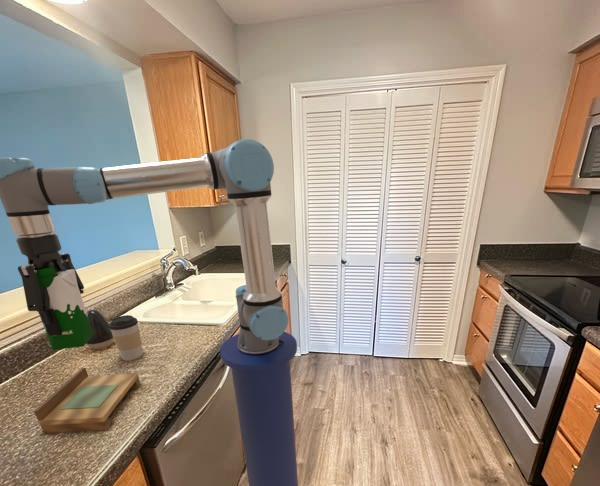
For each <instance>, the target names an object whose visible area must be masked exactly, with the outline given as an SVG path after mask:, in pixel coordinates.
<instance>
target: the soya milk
mask: <svg viewBox="0 0 600 486" xmlns="http://www.w3.org/2000/svg"><path fill="white" fill-rule="evenodd" d="M75 270H76V268H75V269H72V270H67V271H64V272H61V271H60V272H57V273H56V272H55V270H54V267H53V266H52V267H50V268H45V269H40V270H38V269H36V271H37V273H36V274H37V278H38V283H39V288H42V287H43V286H45V285H46V288H47V290H48V294H49V297H50V309H53V310H54V312H55V315H56V318H57V320H58V323H59V326H60V328H61V331H62V335H55V336H49V334H48V332H47V329H46V327H45V324H43V323H42V326H43V328H44V330H45V334H46V336H47V338H48V341H49V344H50V346H51V349H52V351H58V350H66V349H75V348H81V347H82V348H83V347H85V346H86V345H87V344H86V343H87V342H88V341H89V340H90V339H91V337H92V336H93V335H94V333H93V330H92V327H91V324H90V321H89V318H88V315H87V309H86V306H85V303H84V299H83V297H82V294H80V291H79V288H78V284H77V279H76V275H75ZM42 305H43V304H42ZM38 315H39V314H38ZM39 317H40V315H39ZM40 320H41V319H40ZM41 322H42V320H41Z"/></svg>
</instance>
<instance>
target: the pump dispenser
mask: <svg viewBox="0 0 600 486" xmlns="http://www.w3.org/2000/svg"><path fill="white" fill-rule="evenodd" d="M86 312H87V315H88V318H89V321H90V324H91V327H92V330H93V333H94V335H93V336H92V337H91V339H90V340H89V341H88V342H87V343H86V344H85V345H87V346H88V347H89V348H90V349H93V350H104V349H106V348H108V347H110V346H111V345H112V344H113V343H114V342H115V340H114V338H113V335H112V332H111V329H110V328H109V324H110V323H111V322H110V321H108V319H107V318H106V316H105V315H104V314H102V312H100V311H99V310H97V309H89V310H86Z"/></svg>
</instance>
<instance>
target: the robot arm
mask: <svg viewBox="0 0 600 486" xmlns="http://www.w3.org/2000/svg"><path fill="white" fill-rule="evenodd" d="M274 172H275V163H274V160H273V157H272V154H271V153H270V151H269V150H268V148H267V147H266V146H265V145H264V144H262V143H261V142H260V141H257V140H255V139H251V138H242V139H237V140H235V141H234V142H232V143H231V144H230V145H228V146H227V147H224V148H221V149H219V150H216V151H210V152H203V154H202V156H201V157H192V158H184V159H173V160H165V161H164V160H163V161H155V162H146V163H145V162H144V163H137V164H135V163H134V164H125V165H117V166H116V165H115V166H108V167H98V168H97V167H93V166H92V167H91V166H70V167H50V168H44V167H37V166H36V165H35V164H34V161H33V160H32V159H31V158H27V157H0V201H1V204H2V207H3V209H4V211H5V214H6V217H7V219H8V222H9V224H10V227H11V229H12V232H13V234H14V235H15V236H16V237H17V238H16V239H15V241H16V244H17V246H18V248H19V251H20V253H21V255H23V256H25V257H27V264H25V265H19V266H18V267H17V271H18V272H19V275H20V277H21V281H22V286H23V291H24V292H23V293H24V296H25V300H26V301H25V303H26V309H27V311H28V312H37V313H38V315H40V316H39V319H40V320H42V321H41V323H42V325H43V324H45V327H46V329H47V332H48V334H49V336H55V335H62V331H61V328H60V326H59V323H58V320H57V318H56V315H55V312H54V310H53V309H50V297H49V294H48V290H47V288H46V285H45V286H43V287H42V288H39V283H38V278H37V274H36V273H37V271H36V269H38V270H40V269H45V268H50V267H52V266H53V267H54V270H55V272H56V273H57V272H60V271H61V272H64V271H67V270H72V269H75V275H76V279H77V284H78V288H79V291H80V294H81V295H83V294H84V291H85V290H84V289H85V286H84V284H83V281H82V280H81V278H80V276H79V274H78V272H77V270H76V268H75V266H74V264H73V262H72V259H71V255H70V254H69V253H60V252H61V250H62V245H61V242H60V239H59V235H58V234H56V233H55V232H56V231H57V229H56V226H55V223H54V220H53V217H52V215H51V213H50V209H49V206H50V207H51V206H52V207H53V206H64V205H86V204H88V205H92V204H93V205H94V204H99V203H104V202H105V201H107V200H113V199H114V200H115V199H122V198H129V197H137V196H144V195H152V194H161V193H168V192H176V191H177V192H178V191H184V190H185V191H186V190H192V189H200V188H209V189H210V190H212V191H214V190H225V191H226V195H227V201H229V203H231V204H232V205H233V206H234V210H235V217H236V225H237V230H238V237H239V243H240V251H241V252H240V253H241V258H242V265H243V271H244V279H245V284H244V285H240V286H238V287H237V288H236V289H235V299H236V305H237V306H236V307H237V313H238V320H239V326H240V327H239V332H238V334H239V337H238V341H237V346H238V350H239V351H240V352H241V353H243V354H246V355H264V354H268V353H270V352H272V351H274V350H276V349H277V348H278V347H279V342H280V343H282V344H283V343H284V341H282V340H280V339H279V336H280V335H282V333H283V332H286V330H287V328H288V326H289V315H288V312H287V310H286V309H285V308H284V305H283V303H284V302H283V295H282V291H281V290H280V289H279V288H277V285H276V284H277V283H276V277H275V266H274V258H273V249H272V248H273V247H272V239H271V230H270V221H269V212H268V202H269V201H270V199H271V198H272V196H273V195H272V187H271V182H272V180H273V176H274ZM42 304H43V305H42Z"/></svg>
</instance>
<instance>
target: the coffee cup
mask: <svg viewBox="0 0 600 486" xmlns="http://www.w3.org/2000/svg"><path fill="white" fill-rule="evenodd" d="M109 323H110V324H109V328H110V329H111V332H112V335H113V338H114V343H115V345H116V348H117V350H118V351H119V353H120V356H121V359H122V360H123V361H134V360H137V359H139V358H141V357H142V356H143V355H144V351H143V345H142V344H143V343H142V337H141V331H140V327H139V321H138V318H137V317H134V316H133V315H130V314H129V315H128V314H126V315H120V316H116V317H114V318H113V319H111V322H109Z"/></svg>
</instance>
